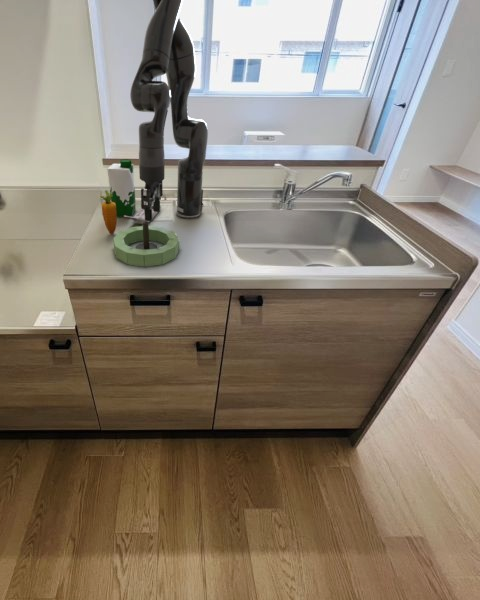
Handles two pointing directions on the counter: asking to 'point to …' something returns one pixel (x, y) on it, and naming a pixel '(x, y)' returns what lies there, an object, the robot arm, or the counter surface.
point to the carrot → (109, 213)
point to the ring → (146, 256)
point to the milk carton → (122, 187)
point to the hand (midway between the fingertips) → (152, 215)
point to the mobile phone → (141, 216)
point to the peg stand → (146, 239)
